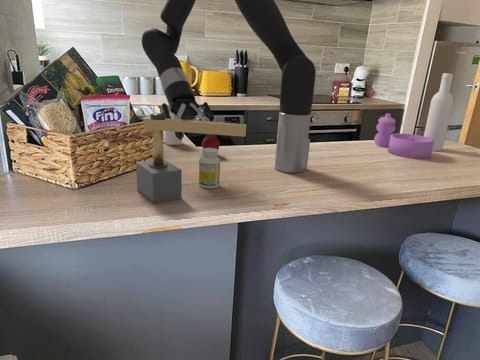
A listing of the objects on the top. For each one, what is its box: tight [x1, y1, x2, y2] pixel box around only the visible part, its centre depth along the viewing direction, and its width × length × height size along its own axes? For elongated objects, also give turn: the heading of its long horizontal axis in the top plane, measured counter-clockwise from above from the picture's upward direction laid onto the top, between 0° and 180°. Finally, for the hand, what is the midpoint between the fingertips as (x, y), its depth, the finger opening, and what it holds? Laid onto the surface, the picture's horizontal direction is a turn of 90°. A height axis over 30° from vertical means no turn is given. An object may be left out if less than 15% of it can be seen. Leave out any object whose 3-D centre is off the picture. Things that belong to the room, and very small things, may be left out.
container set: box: [373, 113, 434, 160], centre depth 148 cm, size 25×15×13 cm, turn 24°
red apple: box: [201, 134, 221, 151], centre depth 127 cm, size 6×6×8 cm
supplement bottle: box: [198, 148, 221, 189], centre depth 98 cm, size 5×5×10 cm
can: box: [163, 111, 183, 146], centre depth 139 cm, size 6×6×12 cm
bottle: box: [423, 72, 454, 152], centre depth 152 cm, size 8×8×30 cm
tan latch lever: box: [142, 112, 247, 167], centre depth 87 cm, size 23×3×12 cm, turn 84°
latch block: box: [135, 159, 183, 204], centre depth 90 cm, size 7×10×7 cm
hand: (196, 137), depth 101 cm, fingers open, 8 cm apart
